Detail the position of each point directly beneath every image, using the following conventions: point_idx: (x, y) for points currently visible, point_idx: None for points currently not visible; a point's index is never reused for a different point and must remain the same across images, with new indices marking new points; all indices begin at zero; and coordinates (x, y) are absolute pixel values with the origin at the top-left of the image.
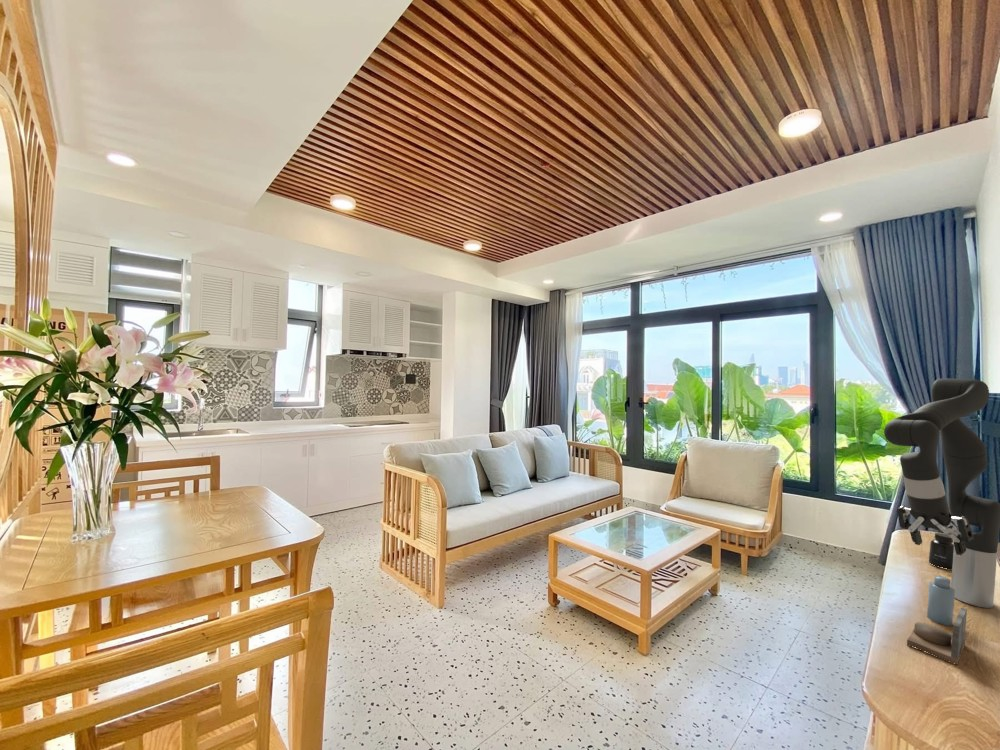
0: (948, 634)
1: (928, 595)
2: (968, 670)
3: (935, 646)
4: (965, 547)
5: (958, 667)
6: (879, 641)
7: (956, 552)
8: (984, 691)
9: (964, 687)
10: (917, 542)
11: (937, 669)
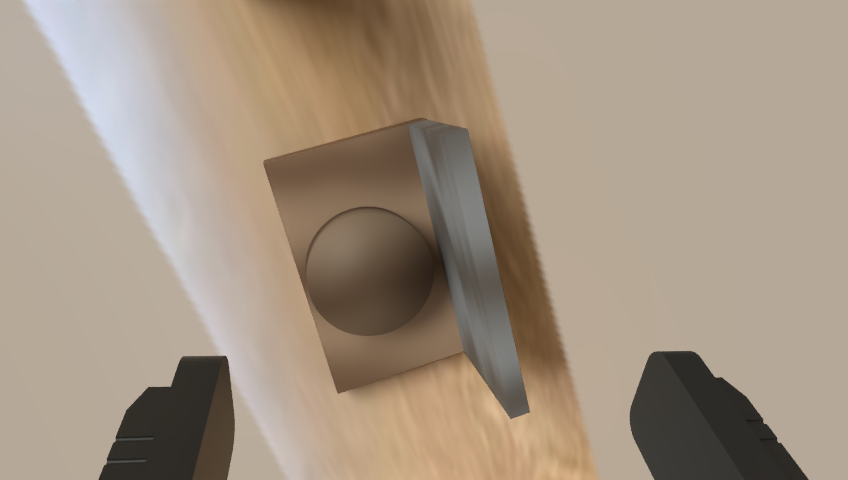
0: (416, 241)
1: None
2: None
3: (406, 329)
4: (767, 429)
5: None
6: (282, 465)
7: (646, 450)
8: (565, 410)
9: (532, 450)
10: (227, 475)
11: (457, 433)
